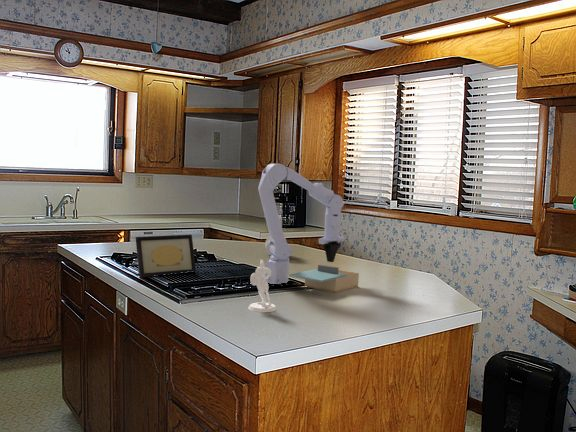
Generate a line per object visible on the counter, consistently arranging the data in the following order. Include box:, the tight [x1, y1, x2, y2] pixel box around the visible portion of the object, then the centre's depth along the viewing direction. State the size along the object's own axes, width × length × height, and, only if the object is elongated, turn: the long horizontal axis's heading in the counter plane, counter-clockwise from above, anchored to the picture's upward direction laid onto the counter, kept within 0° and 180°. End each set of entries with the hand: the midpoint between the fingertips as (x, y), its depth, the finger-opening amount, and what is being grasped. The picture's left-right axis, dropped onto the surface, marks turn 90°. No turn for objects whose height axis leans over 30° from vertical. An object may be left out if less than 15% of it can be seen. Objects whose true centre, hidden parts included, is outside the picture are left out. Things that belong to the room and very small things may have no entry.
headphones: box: [264, 214, 283, 256], centre depth 278 cm, size 18×10×20 cm, turn 4°
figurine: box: [247, 259, 278, 313], centre depth 175 cm, size 9×9×15 cm
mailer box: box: [304, 269, 360, 294], centre depth 213 cm, size 16×13×5 cm
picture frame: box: [135, 234, 197, 279], centre depth 222 cm, size 23×9×15 cm, turn 129°
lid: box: [288, 264, 347, 282], centre depth 205 cm, size 16×13×3 cm
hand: (330, 261), depth 220 cm, fingers closed
